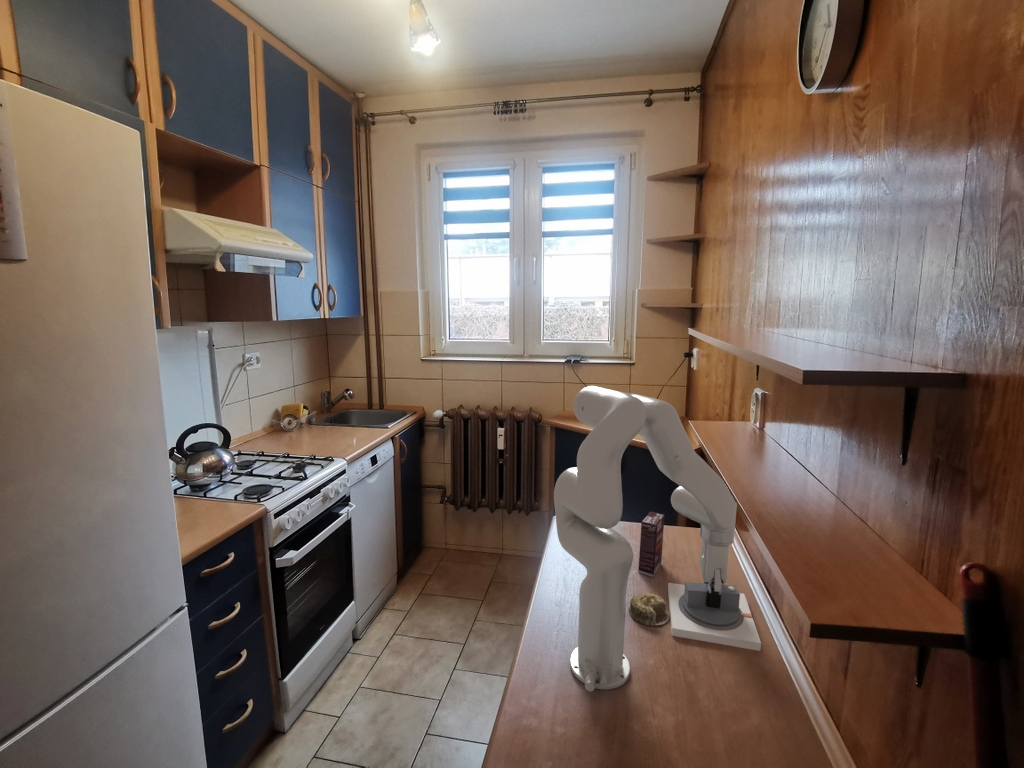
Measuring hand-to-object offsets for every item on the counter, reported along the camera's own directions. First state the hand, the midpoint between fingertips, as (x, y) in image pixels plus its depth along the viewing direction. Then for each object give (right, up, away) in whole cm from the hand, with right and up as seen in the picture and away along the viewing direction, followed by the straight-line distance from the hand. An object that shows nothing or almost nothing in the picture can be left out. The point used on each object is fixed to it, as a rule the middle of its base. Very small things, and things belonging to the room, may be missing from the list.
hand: (711, 600), depth 119 cm
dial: (0, -2, 0) cm, 2 cm away
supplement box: (-9, -1, +23) cm, 24 cm away
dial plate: (0, -5, +1) cm, 5 cm away
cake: (-15, -5, +2) cm, 16 cm away
